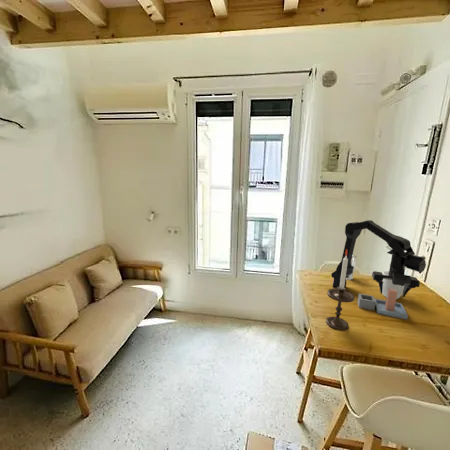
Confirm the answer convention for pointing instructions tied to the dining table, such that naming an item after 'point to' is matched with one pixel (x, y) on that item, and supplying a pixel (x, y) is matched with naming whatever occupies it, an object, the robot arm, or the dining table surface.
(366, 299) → the hollow square socket
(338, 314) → the candlestick
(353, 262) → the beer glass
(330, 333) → the dining table surface
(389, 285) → the mug
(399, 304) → the tray
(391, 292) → the peg
